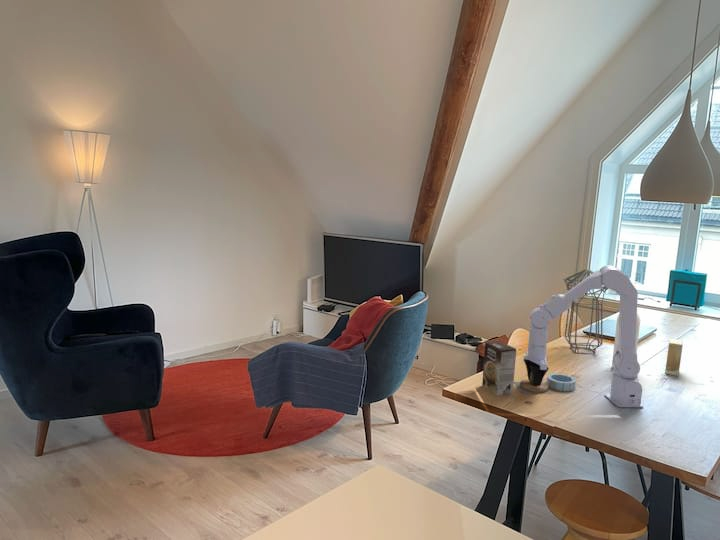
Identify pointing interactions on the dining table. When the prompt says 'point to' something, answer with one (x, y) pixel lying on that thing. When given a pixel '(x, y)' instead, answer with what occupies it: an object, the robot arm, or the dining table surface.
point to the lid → (530, 387)
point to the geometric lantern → (580, 274)
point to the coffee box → (499, 367)
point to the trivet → (528, 391)
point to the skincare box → (674, 357)
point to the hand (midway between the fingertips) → (534, 383)
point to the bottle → (618, 334)
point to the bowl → (561, 382)
